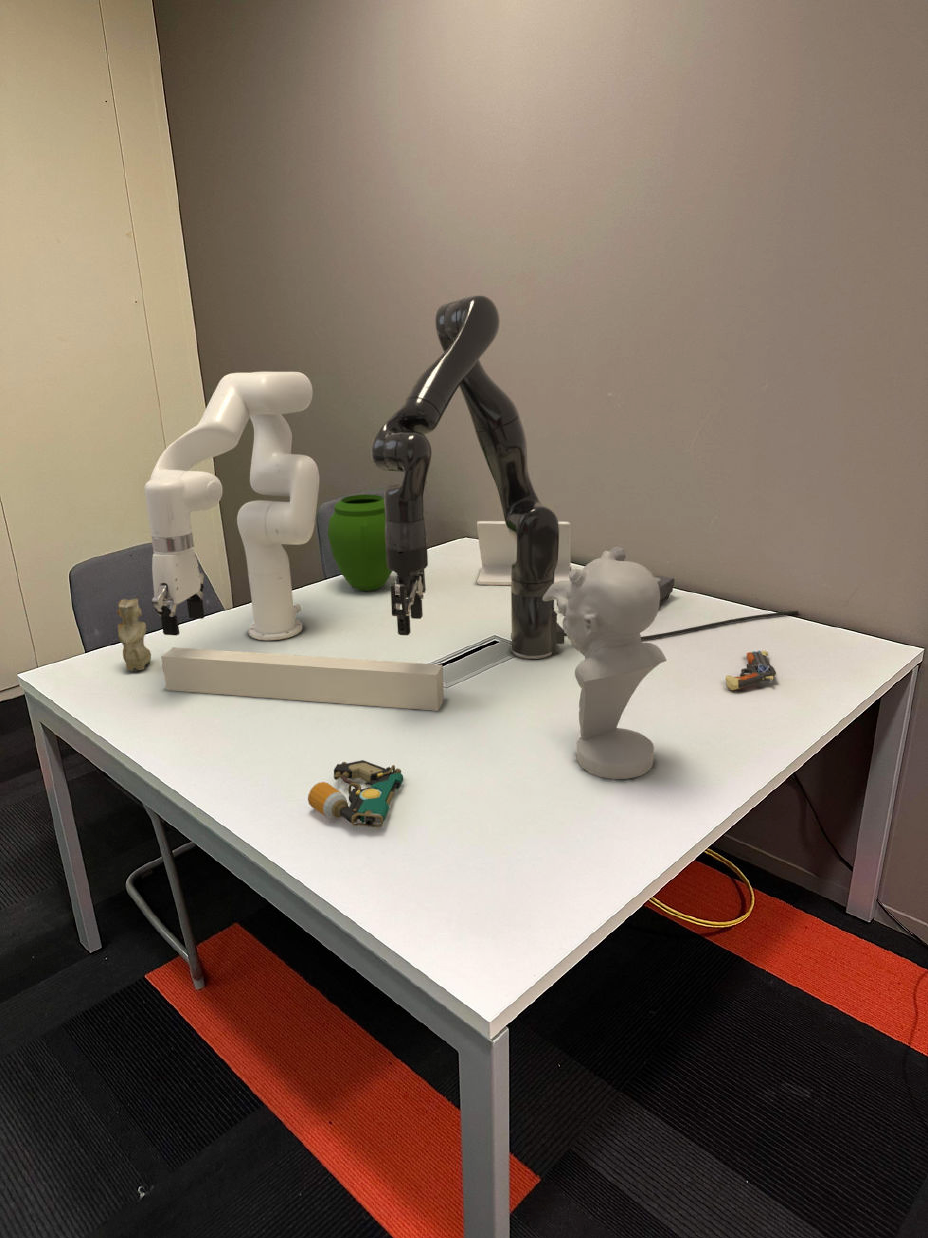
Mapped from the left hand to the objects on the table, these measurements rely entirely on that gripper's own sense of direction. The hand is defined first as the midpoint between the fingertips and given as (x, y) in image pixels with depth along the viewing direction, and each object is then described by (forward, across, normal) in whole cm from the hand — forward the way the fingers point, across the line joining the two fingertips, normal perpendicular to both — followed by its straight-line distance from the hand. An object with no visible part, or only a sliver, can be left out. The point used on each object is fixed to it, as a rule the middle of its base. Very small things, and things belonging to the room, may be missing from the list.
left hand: (184, 626), depth 170 cm
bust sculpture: (+14, +13, +83) cm, 85 cm away
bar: (+14, -1, +24) cm, 27 cm away
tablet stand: (+12, -84, +56) cm, 101 cm away
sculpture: (+14, -8, -18) cm, 24 cm away
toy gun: (+13, -25, +111) cm, 114 cm away
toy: (+12, -63, +82) cm, 104 cm away
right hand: (-3, 0, +47) cm, 47 cm away
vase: (+12, -68, +15) cm, 70 cm away
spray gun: (+14, +34, +48) cm, 61 cm away
